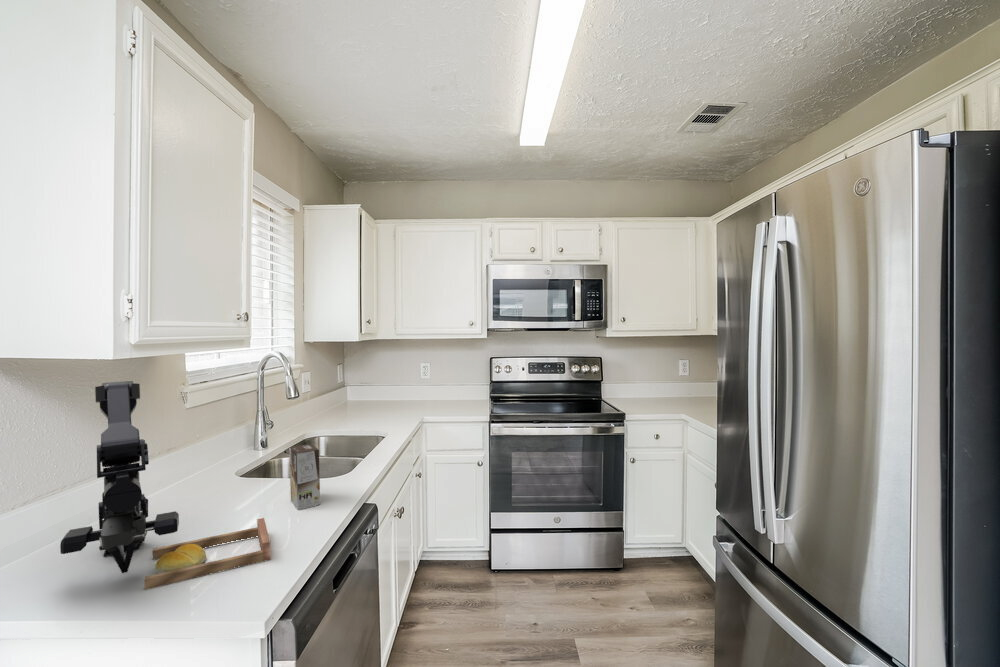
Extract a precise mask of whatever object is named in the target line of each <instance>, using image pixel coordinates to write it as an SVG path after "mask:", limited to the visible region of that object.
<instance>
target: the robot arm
mask: <svg viewBox="0 0 1000 667" xmlns="http://www.w3.org/2000/svg"><path fill="white" fill-rule="evenodd" d="M94 388H95V389H94V392H95V393H94V394H95V395H94V396H95V398H94V400H95V403H96V404H98V403H99V410H100V412H101V413H102V414H103V416H104V417H105V418H106V419H107V428H106V429H104V431H103V432H102V433H101V434H100V444H97V445H96V478H97V479H102V478H103V492H102V496H101V497H102V501H100V502H98V524H99V525H98V526H99V527H98V528H99V530H93V529H94V528H93V526H92V525H90V526H84V527H79V528H73V529H69V531H67V533H65V535H64V537H62V539H61V540H60V546H59V547H60V548H59V549H60V554H61V555H65V554H66V555H67V554H71V553H76V552H81V551H83V549H85V548H86V546H87V543H91V542H97V541H99V548H98V549H99V551H104V552H103V554H102V555H103V556H102V557H107V556H112V557H113V559H114V561H115V562H116V564H117V566H118V568H119V570H120V571H121V573H122V574H125V573H128V571H129V568H130V565H131V562H132V560H133V556H134V553H135V551H136V550H139V549H140V548H141V547H140V546H141V545H142V544H143V543H144V542H145V540H146V537H147V534H148V532H150V531H153V532H154V533H155V534H156V535H158V536H164V535H168V534H169V535H170V534H173V533H177V532H178V529H179V524H180V514H179V513H178V512H177V511H176V510H175V511H169V512H163V513H159V514H156V517H155V519H153V520H148V521H147V518H148V517H149V498H146V496H145V493H142V488H141V482H140V472H142V471H146V466H147V465H149V464H150V463H149V462H150V461H149V450H148V449H149V446H148V444H147V442H146V439H144V438H143V439H140V430H139V429H138V428H137V427H136V426H134V425H132V414H133V412H135V409H136V408H137V402H138V400H141V387H140V383H135V382H134V381H133V380H127V381H112V382H111V381H110V382H102V383H101V385H99V386H95V387H94ZM140 461H141V465H140ZM101 467H103V468H102V470H101Z"/></svg>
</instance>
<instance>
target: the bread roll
mask: <svg viewBox="0 0 1000 667" xmlns="http://www.w3.org/2000/svg"><path fill="white" fill-rule="evenodd" d="M206 560H207V553H206V551H205V549H203V548H202V547H200V546H199V545H196V544H185V545H182V546H180V547H178V548H177V549H176V550H175V551H174V552H168V553H166V554H164V555H162V556H161V557H160V558H158V559H157V561H156V563H155V570H156V574H160V573H164V572H169V571H173V570H178V569H182V568H186V567H191V566H195V565H199V564H204V563H205V561H206Z"/></svg>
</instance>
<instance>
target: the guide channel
mask: <svg viewBox="0 0 1000 667" xmlns="http://www.w3.org/2000/svg"><path fill="white" fill-rule="evenodd" d="M256 522H257V526H256V527H253V528H248V529H243V530H238V531H233V532H232V531H231V532H228V533H223V534H218V535H214V536H208V537H204V538H198V539H194V540H188V541H184V542H179V543H174V544H169V545H165V546H160V547H155V548H152V555H151V556H152V560H153V559H154V560H158V559H159V558H160V557H161V556H162V555H164V554H166V553H168V552H174V551H175V550H176V549H177V548H178V547H180V546H182V545H185V544H196V545H199V546H200V547H202V548H205V547H209V546H213V545H217V544H222V543H227V542H231V541H236V540H241V539H247V538H251V537H256V536H258V537H256V538H257V540H258V543H260V544H259V548H261V549H260V550H257V551H252V552H247V553H243V554H239V555H235V556H232V557H231V556H230V557H227V558H226V557H225V558H223V559H218V560H213V561H209V562H203V563H202V564H199V565H195V566H191V567H186V568H182V569H178V570H173V571H169V572H164V573H160V574H158V573H156V574H151V575H147V576H144V590H149V589H153V588H158V587H162V586H167V585H170V584H173V583H178V581H179V582H182V581H186V579H187V580H191V579H195V578H194V577H196V578H198V577H197V576H200V577H203V576H202V575H204V576H207V574H208V575H211V574H210V573H212V574H216V573H220V572H219V571H221V572H223V570H225V571H228V570H227V569H229V570H232V569H231V568H233V569H235V568H234V567H237V568H239V567H238V566H242V567H244V566H243V565H246V566H249V565H248V564H250V565H254V564H257V562H258V563H261V562H262V561H263V562H266V561H265V560H267V561H270V559H271V539H270V536H269V533H268V529H267V524H266V520H265V518H264V517H262V518H258V519H257V520H256ZM247 540H248V539H247ZM205 549H206V548H205ZM157 558H158V559H157ZM263 562H262V563H263ZM253 563H254V564H253Z"/></svg>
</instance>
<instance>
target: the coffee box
mask: <svg viewBox="0 0 1000 667" xmlns="http://www.w3.org/2000/svg"><path fill="white" fill-rule="evenodd" d="M288 449H289V482H290V483H289V484H290V485H289V486H290V502H291V503H292V505H293V506H295V508H296V509H297V510H299V511H300V510H304V509H308V508H307V507H309V508H312V507H311V506H313V507H316V506H315V505H317V506H320V505H321V486H320V485H321V483H320V482H321V480H320V475H321V474H320V450H319V448H317V447H316V446H315V445H313V444H312V443H306V444H300V445H296V446H290V447H289V448H288ZM319 504H320V505H319Z"/></svg>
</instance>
